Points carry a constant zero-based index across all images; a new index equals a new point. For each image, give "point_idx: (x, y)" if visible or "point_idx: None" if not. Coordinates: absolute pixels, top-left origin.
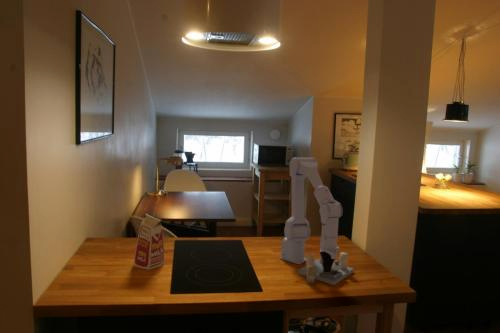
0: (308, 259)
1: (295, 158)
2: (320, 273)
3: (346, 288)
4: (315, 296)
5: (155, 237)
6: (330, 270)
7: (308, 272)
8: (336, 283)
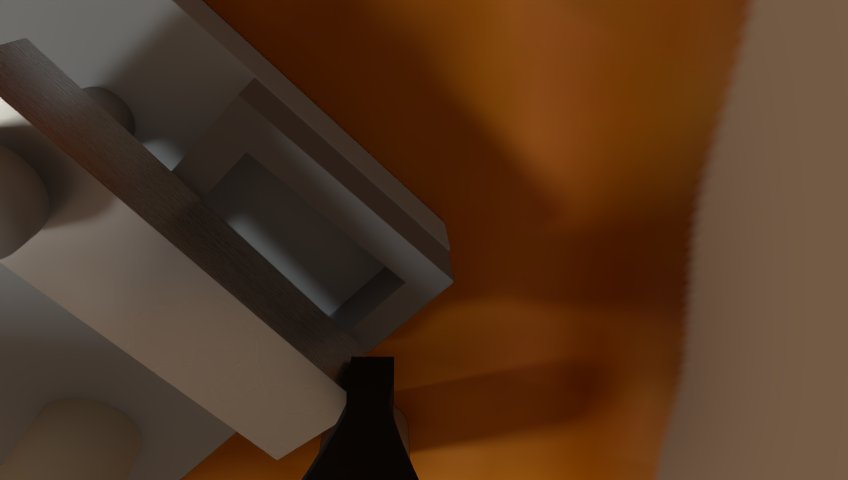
0: None
1: None
2: None
3: (550, 89)
4: (660, 441)
5: None
6: (391, 379)
7: None
8: (393, 176)
